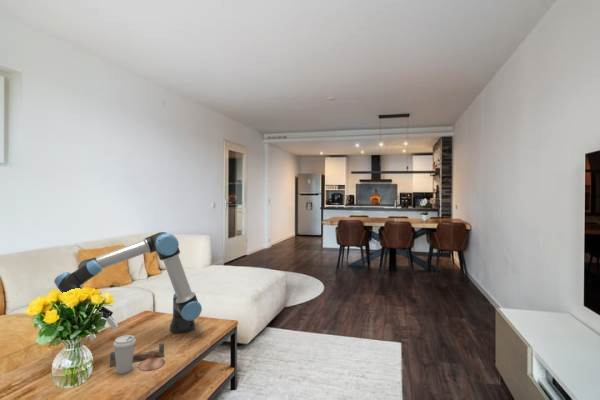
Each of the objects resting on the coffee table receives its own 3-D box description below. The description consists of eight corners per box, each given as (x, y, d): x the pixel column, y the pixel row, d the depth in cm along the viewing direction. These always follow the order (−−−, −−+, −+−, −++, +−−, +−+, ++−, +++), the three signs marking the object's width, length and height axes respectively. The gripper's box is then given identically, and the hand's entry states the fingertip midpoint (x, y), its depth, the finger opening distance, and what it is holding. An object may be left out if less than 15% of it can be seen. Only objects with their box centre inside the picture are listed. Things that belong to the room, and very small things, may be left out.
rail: (163, 354, 170) (163, 343, 170) (166, 367, 157) (166, 355, 157) (110, 364, 159) (110, 352, 159) (108, 379, 146) (108, 366, 146)
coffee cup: (125, 376, 148) (126, 343, 148) (107, 374, 150) (108, 341, 150) (139, 366, 157) (140, 335, 158) (122, 364, 159) (123, 333, 159)
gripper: (94, 297, 171) (119, 328, 168) (50, 313, 147) (78, 349, 144) (103, 288, 170) (128, 319, 168) (61, 302, 146) (89, 338, 143)
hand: (105, 333), depth 156 cm, fingers open, 13 cm apart
